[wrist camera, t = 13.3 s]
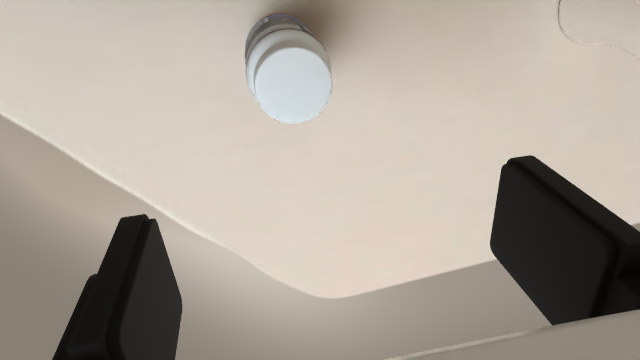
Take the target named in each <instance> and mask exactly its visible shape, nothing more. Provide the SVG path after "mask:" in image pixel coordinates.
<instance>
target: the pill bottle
mask: <svg viewBox="0 0 640 360" xmlns="http://www.w3.org/2000/svg"><path fill="white" fill-rule="evenodd" d="M245 59H246V77H247V82H248V86H249V89H250V91H251V93H252V95H253V96H254V98H255V99H256V100H257V101H258V103H259V105H260V106H261V108H262V109H263V110H264V111H265V112H266V113H267V114H268V115H269V116H270V117H272V118H274V119H276V120H278V121H280V122H284V123H292V124H294V123H302V122H305V121H308V120H310V119H312V118H314V117H315V116H317V115H318V114H319V113H320V112H321V111H322V110H323V109H324V108H325V106H326V105H327V103H328V101H329V99H330V96H331V92H332V77H331V66H330V61H329V58H328V55H327V53H326V51H325V49H324V48H323V46H322V45H321V43H320V42H319V41H318V40H317V39H316V38H315V36H314V35H313V34H312V33H311V31H310V30H309V29H308V28H307V26H306V25H305V24H304V23H302V22H301V21H300V20H298V19H296V18H295V17H292V16H289V15H284V14H276V15H271V16H268V17H265V18H264V19H262V20H260V21H259V22H258V23H257V24H256V25H255V26H254V27H253V28H252V29H251V31H250V33H249V35H248V37H247V40H246V45H245Z"/></svg>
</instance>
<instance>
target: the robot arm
mask: <svg viewBox="0 0 640 360" xmlns="http://www.w3.org/2000/svg"><path fill="white" fill-rule="evenodd" d="M490 247H491V250H492V253H493V254H494V256H495V257H496V258H497V259H498V260H499V262H500V263H501V264H502V265H503V266H504V268H505V269H506V270H507V271H508V272H509V274H510V275H511V276H512V277H513V279H514V280H515V281H516V282H517V283H518V285H519V286H520V287H521V288H522V289H523V291H524V292H525V293H526V294H527V295H528V296H529V298H530V299H531V300H532V301H533V303H534V304H535V305H536V306H537V307H538V309H539V310H540V311H541V312H542V314H543V315H544V316H545V317H546V318H547V320H548V321H549V322H550V323H551V324H552V326H548V327H543V328H538V329H533V330H528V331H523V332H517V333H513V334H507V335H502V336H497V337H492V338H487V339H482V340H477V341H472V342H467V343H462V344H457V345H453V346H447V347H442V348H437V349H432V350H428V351H422V352H417V353H412V354H407V355H402V356H397V357H393V358H388V359H383V360H640V232H639V231H638V230H636V229H635V228H634V227H632V226H631V225H629V224H628V223H627V222H625V221H624V220H622V219H621V218H620V217H618V216H617V215H615V214H614V213H613V212H611V211H610V210H608V209H607V208H606V207H604V206H603V205H601V204H600V203H599V202H597V201H596V200H594V199H593V198H592V197H590V196H589V195H587V194H586V193H585V192H583V191H582V190H580V189H579V188H578V187H576V186H575V185H573V184H572V183H571V182H569V181H568V180H566V179H565V178H564V177H562V176H561V175H559V174H558V173H557V172H555V171H554V170H552V169H551V168H550V167H548V166H547V165H545V164H544V163H543V162H541V161H540V160H538V159H537V158H536V157H534V156H523V157H516V158H511V159H509V160H508V162H507V164H505V165H503V167H502V169H501V175H500V181H499V188H498V194H497V200H496V207H495V213H494V220H493V226H492V233H491V239H490ZM181 314H182V299H181V295H180V292H179V289H178V286H177V282H176V279H175V276H174V273H173V270H172V267H171V264H170V261H169V257H168V254H167V251H166V248H165V245H164V242H163V239H162V236H161V233H160V230H159V226H158V223H157V221H156V219H149V218H148V217H147V215H145V214H142V215H137V216H129V217H123V218H121V219H120V221H119V223H118V226H117V228H116V230H115V233H114V235H113V238H112V240H111V242H110V245H109V247H108V249H107V252H106V254H105V257H104V259H103V261H102V264H101V266H100V268H99V271H98V273H97V274H94V275H92V276H90V277H89V279H88V280H87V282H86V284H85V287H84V289H83V291H82V293H81V296H80V298H79V300H78V303H77V305H76V307H75V309H74V312H73V314H72V316H71V318H70V321H69V323H68V325H67V327H66V330H65V332H64V334H63V337H62V339H61V341H60V343H59V346H58V348H57V350H56V352H55V355H54V357H53V359H52V360H175V355H176V348H177V341H178V335H179V328H180V321H181Z"/></svg>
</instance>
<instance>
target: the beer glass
mask: <svg viewBox="0 0 640 360" xmlns="http://www.w3.org/2000/svg"><path fill="white" fill-rule="evenodd" d="M559 22H560V26H561V28H562V30H563V32H564V34H565V35H566V36H567V37H568V38H569V39H571V40H572V41H574V42H576V43H580V44H589V45H607V46H611V47H615V48H618V49H620V50H623V51H625V52H626V53H628V54H630V55H632V56H634V57H635V58H637V59H639V60H640V0H561V1H560V6H559Z"/></svg>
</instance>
